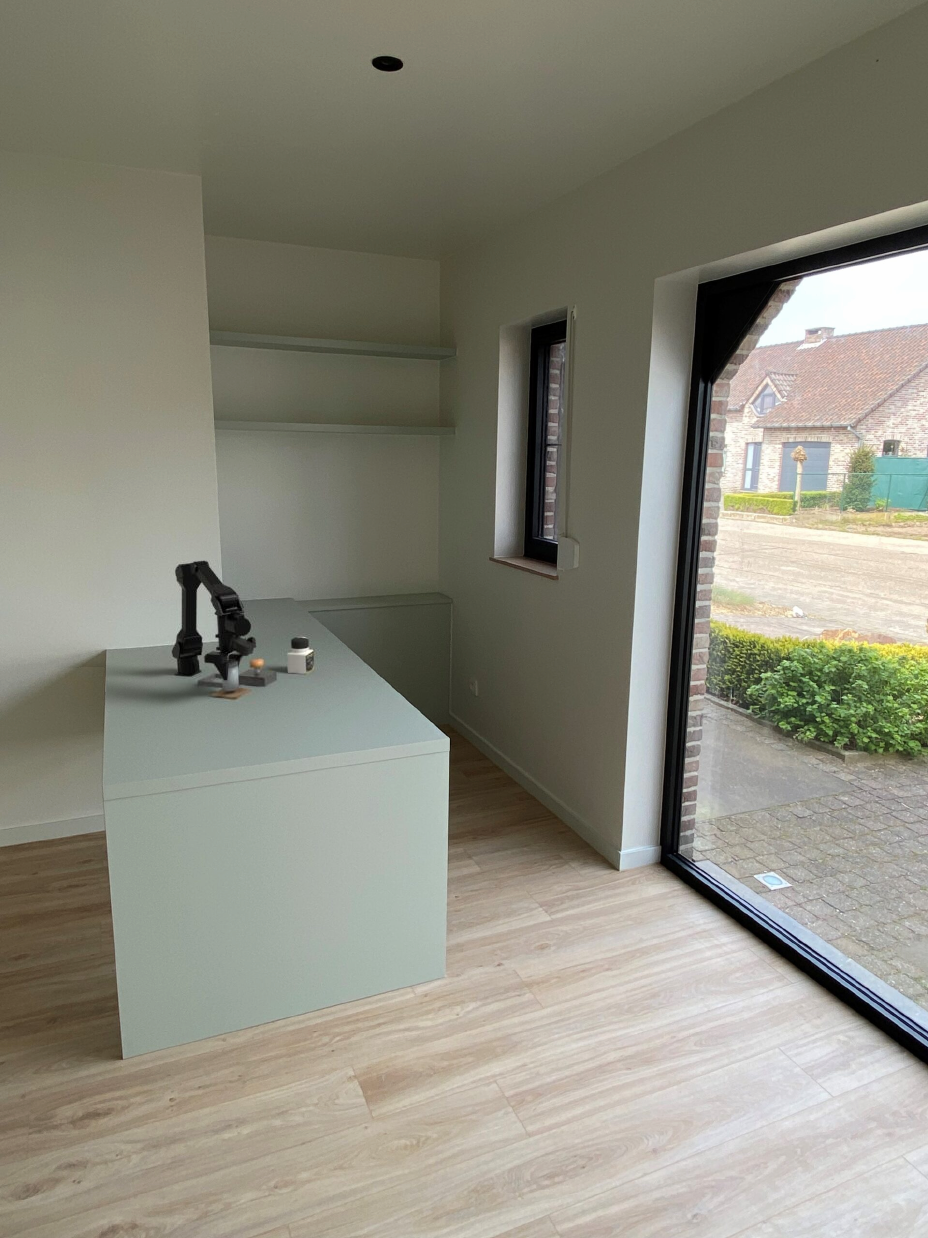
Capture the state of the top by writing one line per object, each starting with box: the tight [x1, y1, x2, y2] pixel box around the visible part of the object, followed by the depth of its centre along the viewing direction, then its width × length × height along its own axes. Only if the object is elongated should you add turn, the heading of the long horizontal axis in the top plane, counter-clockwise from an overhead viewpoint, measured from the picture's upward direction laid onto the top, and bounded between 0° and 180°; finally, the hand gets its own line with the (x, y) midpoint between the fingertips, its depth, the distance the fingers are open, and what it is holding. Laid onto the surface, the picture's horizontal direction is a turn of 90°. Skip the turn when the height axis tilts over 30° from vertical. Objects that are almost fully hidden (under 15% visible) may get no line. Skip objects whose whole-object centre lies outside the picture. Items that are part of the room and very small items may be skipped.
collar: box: [197, 672, 223, 689], centre depth 268 cm, size 10×10×2 cm
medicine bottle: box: [286, 636, 315, 675], centre depth 280 cm, size 7×7×12 cm
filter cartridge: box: [221, 659, 240, 691], centre depth 255 cm, size 5×5×9 cm
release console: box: [238, 668, 278, 687], centre depth 268 cm, size 10×8×3 cm
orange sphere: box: [249, 658, 265, 674], centre depth 267 cm, size 4×4×4 cm
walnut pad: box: [210, 687, 252, 700], centre depth 256 cm, size 9×9×1 cm
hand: (230, 678), depth 255 cm, fingers closed on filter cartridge, 5 cm apart
